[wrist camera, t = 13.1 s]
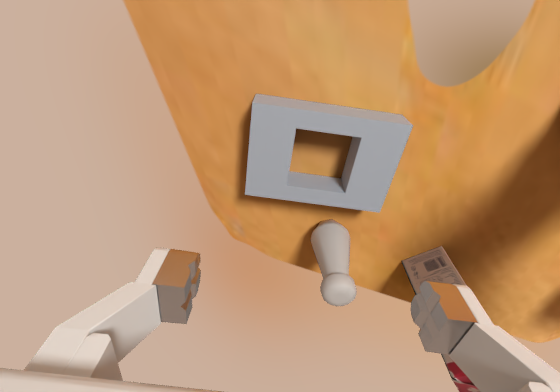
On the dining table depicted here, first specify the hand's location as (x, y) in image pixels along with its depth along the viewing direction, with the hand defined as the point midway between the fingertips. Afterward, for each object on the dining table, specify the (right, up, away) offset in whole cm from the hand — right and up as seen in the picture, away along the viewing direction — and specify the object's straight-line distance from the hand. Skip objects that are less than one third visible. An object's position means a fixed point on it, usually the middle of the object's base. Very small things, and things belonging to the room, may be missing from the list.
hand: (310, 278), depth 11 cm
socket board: (+4, +9, +28) cm, 30 cm away
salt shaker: (+6, -2, +36) cm, 36 cm away
